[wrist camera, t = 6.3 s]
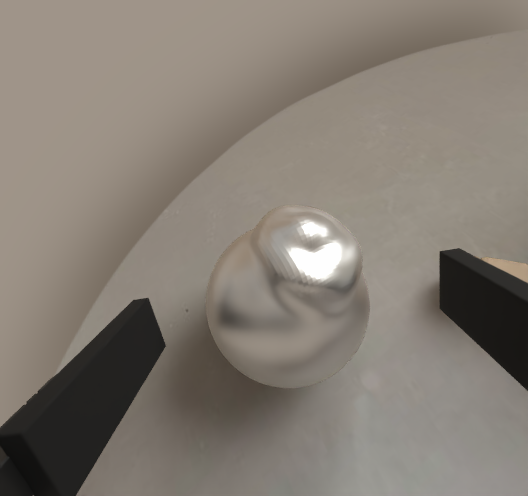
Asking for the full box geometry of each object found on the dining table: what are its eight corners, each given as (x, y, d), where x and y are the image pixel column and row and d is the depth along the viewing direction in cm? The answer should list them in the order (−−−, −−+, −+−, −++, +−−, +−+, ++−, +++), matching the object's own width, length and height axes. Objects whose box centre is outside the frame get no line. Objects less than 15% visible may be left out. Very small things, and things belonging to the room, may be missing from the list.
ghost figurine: (394, 343, 17) (475, 302, 8) (261, 412, 17) (200, 446, 8) (322, 235, 21) (325, 133, 13) (214, 288, 21) (140, 221, 12)
